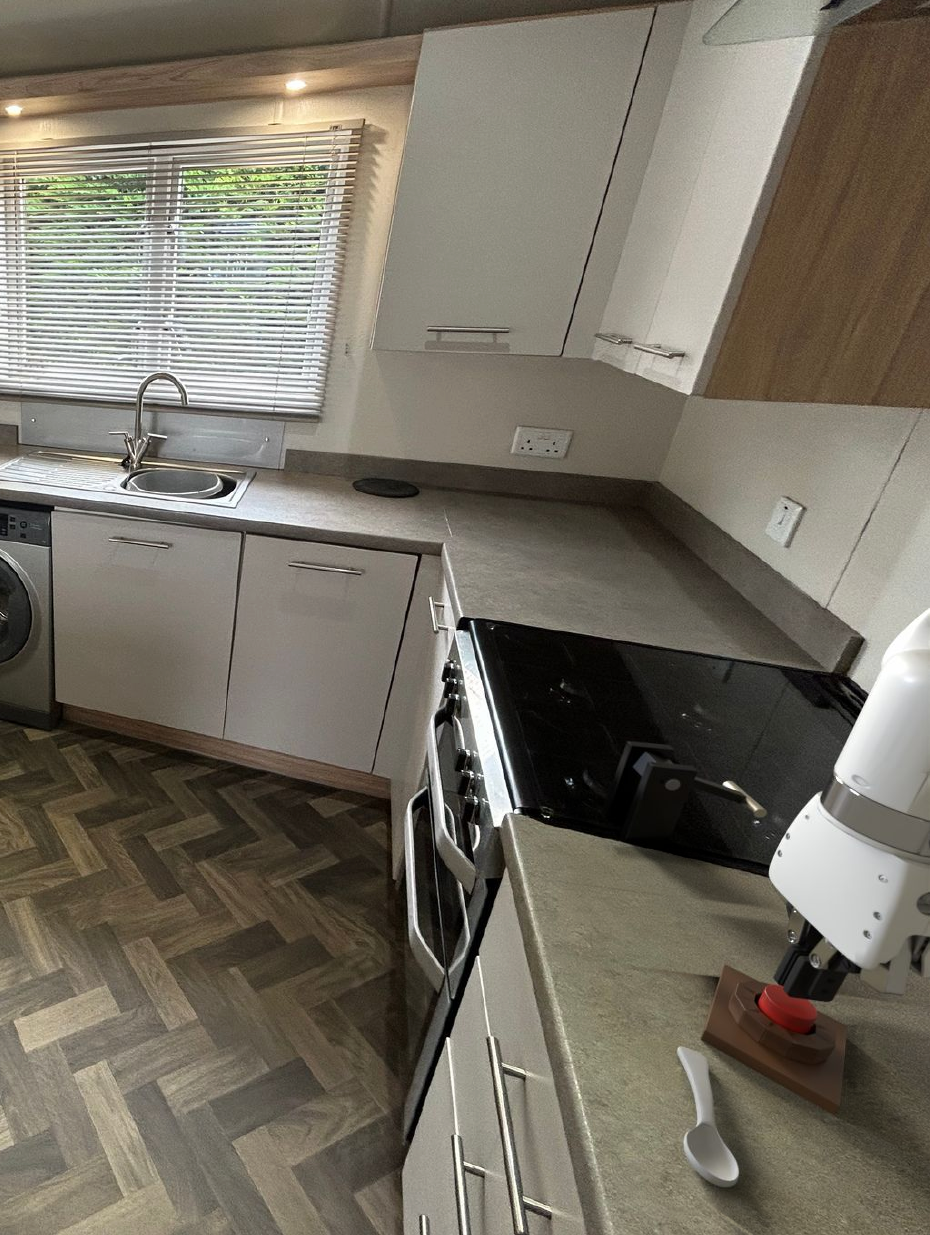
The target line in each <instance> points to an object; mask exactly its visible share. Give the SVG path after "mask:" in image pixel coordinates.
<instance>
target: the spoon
mask: <svg viewBox="0 0 930 1235" xmlns="http://www.w3.org/2000/svg"><path fill="white" fill-rule="evenodd" d="M676 1053H677V1055H678V1058H679V1060H680V1063H681V1064H682V1066H683V1068H684V1071H685V1073H686V1076H687V1078H688V1080H689V1083H690V1087H691V1090H692V1092H693V1096H694V1101H695V1107H696V1116H697V1117H696V1118H697V1121H696V1125H695V1127H694V1128H692V1129H690V1130H688V1131H687V1132H686V1133H685V1135H684V1136H683V1141H682V1142H683V1150H684V1153H685V1155H686V1158H687V1160H688V1162H689V1163H690V1165H691V1166H692V1168H693V1169H694V1170H695V1171H696V1172H697V1174H698V1175H700V1176H701V1177H702V1178H703V1179H705V1180H706V1181H708V1182H709V1183H711V1184H712V1185H714V1186H718V1187H721V1188H729V1187H733V1186H735V1185H736V1184H737V1182H738V1180H739V1177H740V1170H739V1169H740V1168H739V1165H738V1162H737V1160H736V1158H735V1156H734V1155H733V1153H732V1152H731V1150H730V1149H729V1147H728V1146H727V1145H726V1144H725V1142H724V1141H723V1139H722V1137H721V1135H720V1133H719V1131H718V1127H717V1123H716V1114H715V1105H714V1094H713V1089H712V1084H711V1078H710V1063H709V1060H708V1058H707V1057H705V1056H704V1055H703V1054H701V1053H699V1052H697V1051H695V1050H693V1049H691V1048H689V1047H686V1046H678V1047H677V1052H676Z"/></svg>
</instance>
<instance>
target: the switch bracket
mask: <svg viewBox="0 0 930 1235" xmlns="http://www.w3.org/2000/svg"><path fill="white" fill-rule="evenodd" d="M645 751H646V752H649V753H652V754H655V755H658V756H661V757H664V758H667V759H669V760H670V761H672V760H671V759H672V757H673V755H674V752H675V749H674V748H673V747H672V746H671V745H669V744H661V743H651V742H643V741H642V742H641V741H631V740H627V741H626V743H625V746H624V748H623V752H622V755H621V756H620V760H619V763H618V766H617V768H616V771H615V774H614V777H613V779H612V782H611V784H610V787H609V789H608V793H607V795H606V798H605V801H604V804H603V806H602V809H601V812H600V813H601V814H602V816H603V817H604V818H606V819H612V820H622V821H624V822H623V825H622V828H621V830H620V834H619V837H620V838H621V839H622V840H623V841H624V842H629V843H637V844H638V843H639V844H647V845H653V846H655V845H656V846H663V847H664V846H665V847H667V846H668V845H669V842H670V839H671V837H672V836H673V833H674V830H675V828H676V825H677V823H678V820H679V818H680V816H681V813H682V811H683V808H684V806H685V804H686V801H687V799H688V796H689V794H690V792H691V789H692V788H693V787H692V784H693V782H694V780H695V777H697V775H698V772H699V771H698V769H696V767H694V766H693V765H686V764H680V763H679V764H677V763H673V764H669V763H659V762H649V761H648V763H647V765H646V768H645V771H644V773H643V776H641V775H640V774H639V773H638V772H637V771H636V770H635V769H634V768H633V766H634V764H635V763H636V762H637V761H638V759H639V758H640V757H641V756H642V754H643V753H644V752H645Z"/></svg>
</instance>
